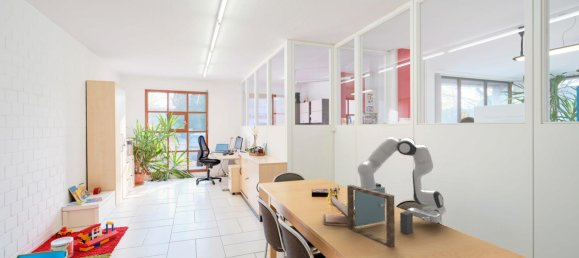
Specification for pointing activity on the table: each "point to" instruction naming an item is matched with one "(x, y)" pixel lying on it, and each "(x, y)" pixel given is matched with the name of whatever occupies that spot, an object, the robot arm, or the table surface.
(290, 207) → the table surface
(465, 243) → the table surface
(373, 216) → the door
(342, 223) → the case
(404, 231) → the dark blue-gray block
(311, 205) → the table surface
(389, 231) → the door frame
